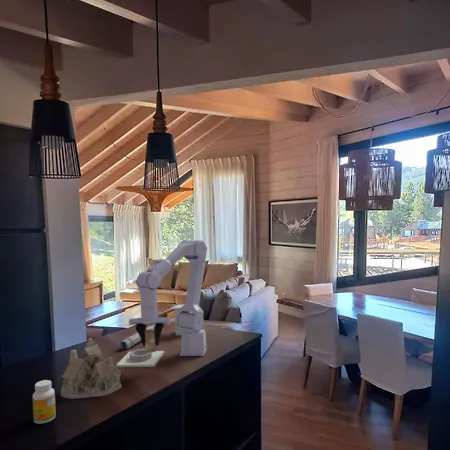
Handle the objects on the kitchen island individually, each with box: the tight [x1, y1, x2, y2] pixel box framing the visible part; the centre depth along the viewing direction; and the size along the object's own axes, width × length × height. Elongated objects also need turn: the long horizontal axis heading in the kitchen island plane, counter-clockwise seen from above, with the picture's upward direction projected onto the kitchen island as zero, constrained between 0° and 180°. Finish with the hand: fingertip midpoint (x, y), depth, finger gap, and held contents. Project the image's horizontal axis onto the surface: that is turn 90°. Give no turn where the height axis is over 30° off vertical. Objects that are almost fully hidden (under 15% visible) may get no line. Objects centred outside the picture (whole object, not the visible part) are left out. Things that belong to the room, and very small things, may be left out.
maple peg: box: [144, 329, 158, 353], centre depth 131 cm, size 4×4×7 cm
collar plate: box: [116, 348, 165, 368], centre depth 142 cm, size 14×14×3 cm
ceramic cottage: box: [60, 337, 122, 400], centre depth 118 cm, size 16×16×15 cm
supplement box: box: [173, 303, 193, 336], centre depth 173 cm, size 7×7×13 cm
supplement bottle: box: [32, 379, 57, 425], centre depth 101 cm, size 5×5×10 cm
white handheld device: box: [119, 324, 164, 350], centre depth 165 cm, size 5×7×25 cm
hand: (151, 344), depth 131 cm, fingers closed on maple peg, 4 cm apart
